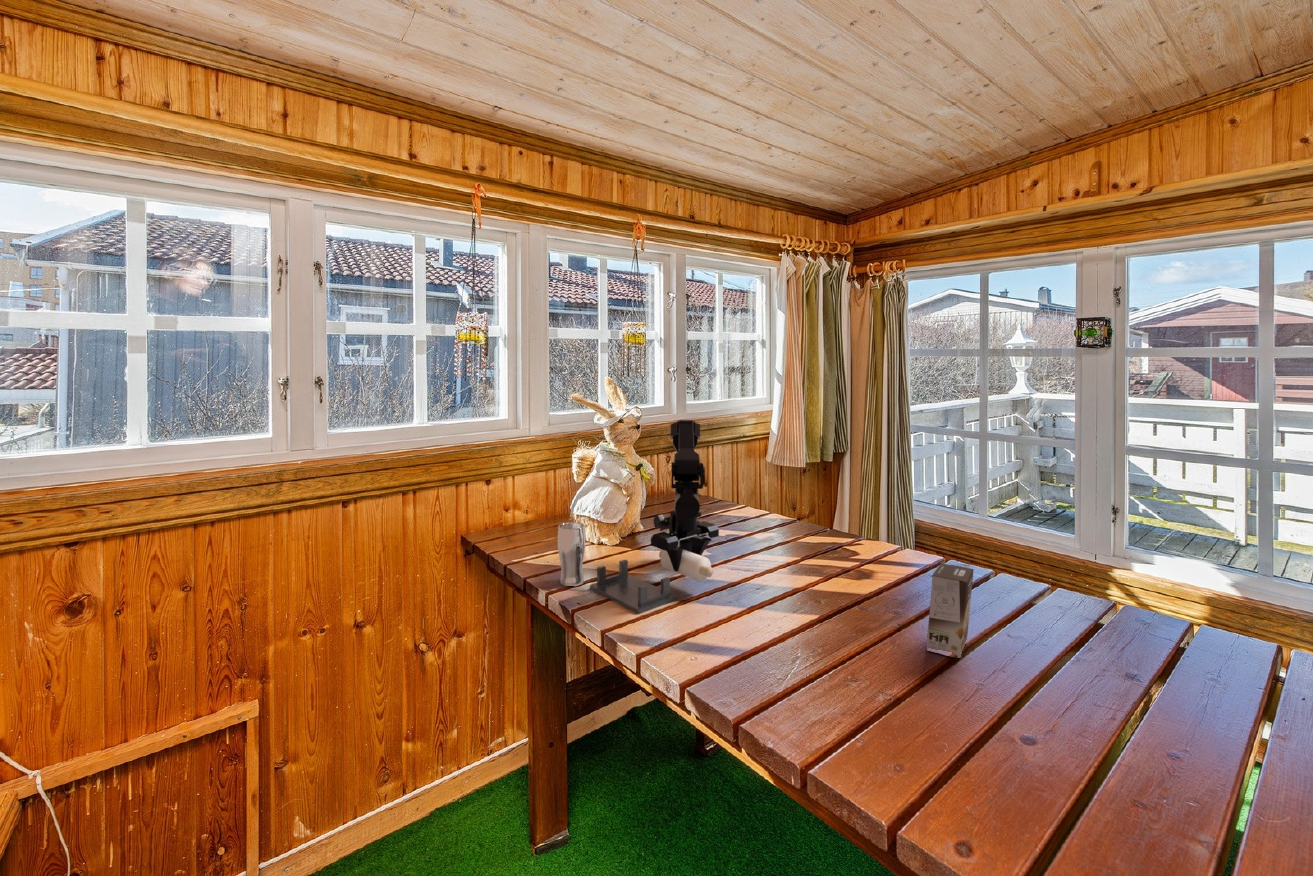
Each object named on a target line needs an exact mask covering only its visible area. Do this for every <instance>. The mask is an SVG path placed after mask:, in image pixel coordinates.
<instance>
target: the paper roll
mask: <svg viewBox="0 0 1313 876" xmlns="http://www.w3.org/2000/svg"><path fill="white" fill-rule="evenodd" d="M658 553H659V554H658V555H659V559H660V564H661V566H662V567H663V568H664V569H667V570H670V571H673V572H675V573H678V574H679V575H682V576H685V577H687V578H690V579H691V580H694V581H696V582H703V581H705V580H706V579H708V578H711V577H712V576H713V575H714V568H713V567H712V563H711V561H710V559H709V558H708V557H706V556H703V555H701V556H700V555H698V554H695V553H692V552H689V551H687V550H684V549H683V552H682V557H681V562H680V566H679V570H678V572H676V571H674V569H673V566H672V563H671V560H670V558H669V555H668V553H667V551H665V550H662V549H660V551H659V552H658Z"/></svg>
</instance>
